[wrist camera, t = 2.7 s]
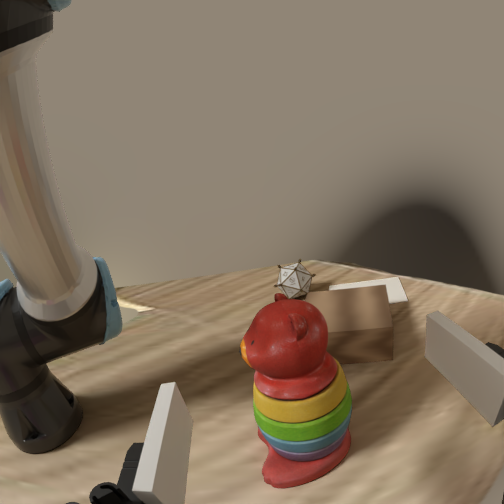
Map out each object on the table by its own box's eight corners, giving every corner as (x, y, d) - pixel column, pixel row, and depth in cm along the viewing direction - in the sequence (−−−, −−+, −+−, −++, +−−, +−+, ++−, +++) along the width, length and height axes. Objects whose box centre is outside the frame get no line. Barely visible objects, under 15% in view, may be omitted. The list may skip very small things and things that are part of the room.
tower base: (298, 367, 43) (292, 334, 42) (312, 321, 56) (307, 292, 55) (392, 361, 38) (393, 326, 37) (387, 314, 51) (385, 284, 50)
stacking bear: (257, 422, 33) (218, 293, 29) (338, 403, 33) (322, 269, 29) (264, 492, 23) (211, 355, 19) (365, 467, 23) (366, 318, 19)
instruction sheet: (327, 311, 58) (326, 310, 57) (329, 286, 69) (329, 285, 68) (407, 301, 53) (408, 299, 52) (398, 277, 64) (398, 276, 63)
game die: (302, 308, 70) (313, 266, 71) (313, 309, 61) (325, 262, 63) (265, 297, 69) (277, 255, 71) (271, 297, 61) (284, 249, 63)
